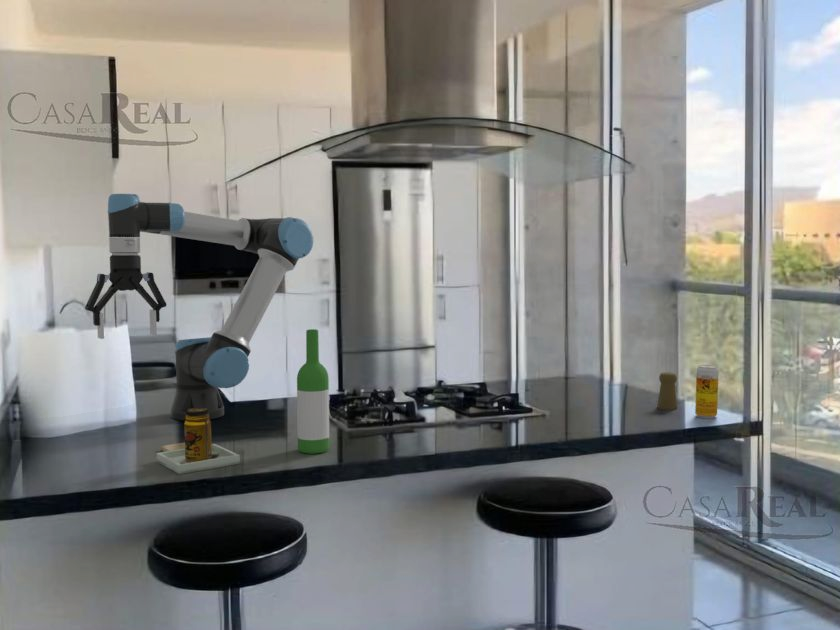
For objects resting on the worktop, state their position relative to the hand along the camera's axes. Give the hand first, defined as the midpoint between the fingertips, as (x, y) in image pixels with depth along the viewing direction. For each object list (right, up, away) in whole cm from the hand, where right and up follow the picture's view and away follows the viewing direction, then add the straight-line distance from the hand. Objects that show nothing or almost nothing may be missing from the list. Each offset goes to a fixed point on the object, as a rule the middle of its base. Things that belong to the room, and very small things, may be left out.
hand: (127, 336), depth 219 cm
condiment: (+24, -28, -21) cm, 43 cm away
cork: (+152, -23, +43) cm, 160 cm away
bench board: (+18, -28, -11) cm, 35 cm away
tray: (+24, -29, -22) cm, 43 cm away
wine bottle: (+50, -28, -11) cm, 58 cm away
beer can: (+160, -25, +30) cm, 165 cm away
